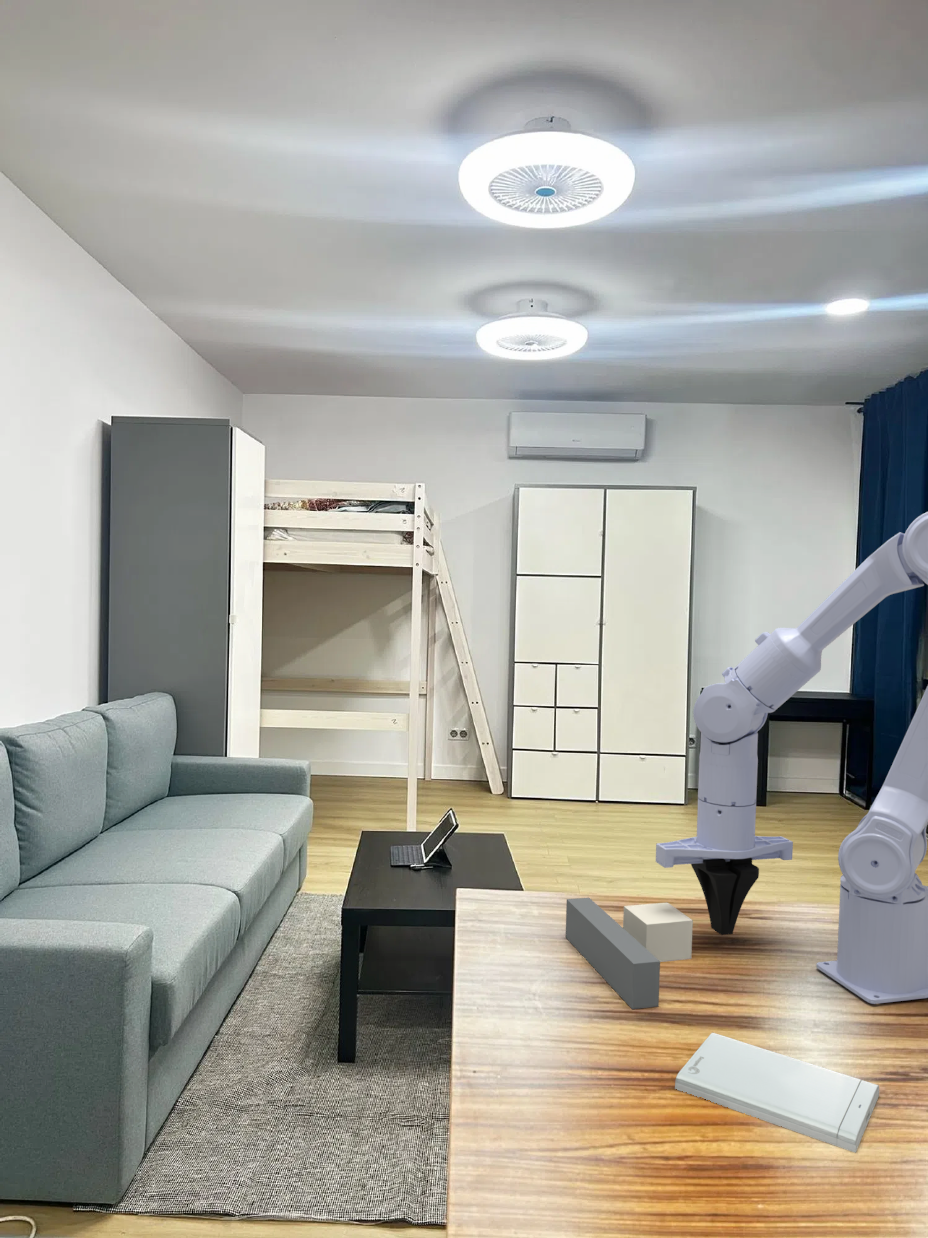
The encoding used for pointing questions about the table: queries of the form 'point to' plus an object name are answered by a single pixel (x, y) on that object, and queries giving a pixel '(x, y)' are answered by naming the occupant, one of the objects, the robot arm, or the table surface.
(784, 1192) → the table surface
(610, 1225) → the table surface
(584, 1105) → the table surface
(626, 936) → the gray bar
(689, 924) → the cream block
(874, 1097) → the hard drive
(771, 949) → the table surface
